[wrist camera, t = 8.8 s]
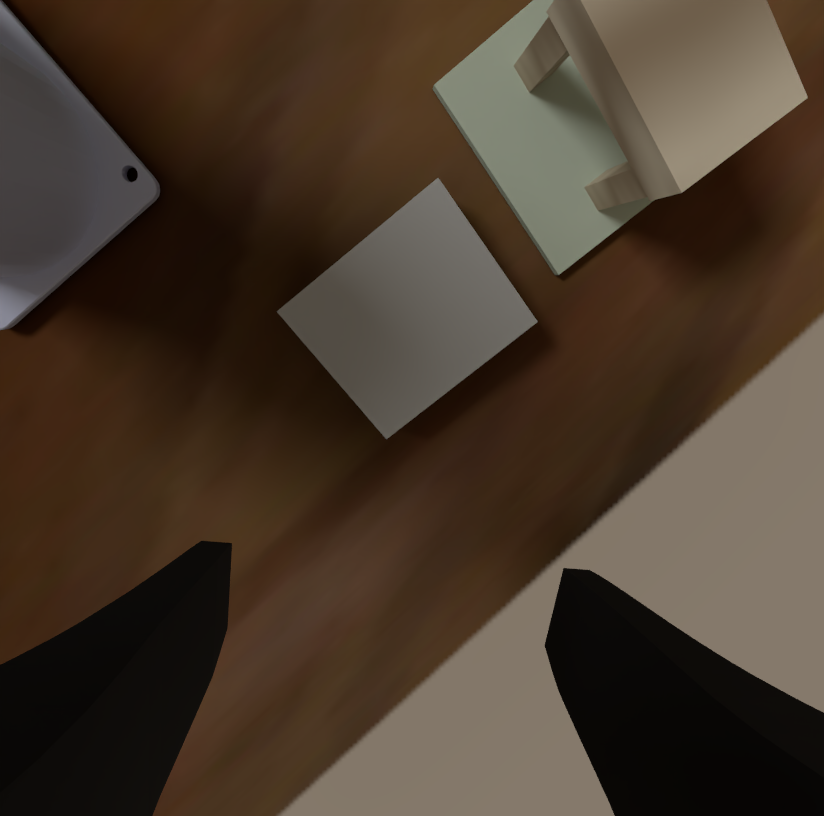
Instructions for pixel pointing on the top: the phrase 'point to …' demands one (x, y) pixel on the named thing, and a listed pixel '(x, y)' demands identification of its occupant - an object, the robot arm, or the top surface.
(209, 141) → the top surface
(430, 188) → the step
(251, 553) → the top surface
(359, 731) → the top surface
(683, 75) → the beige toy stool
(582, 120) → the mat
